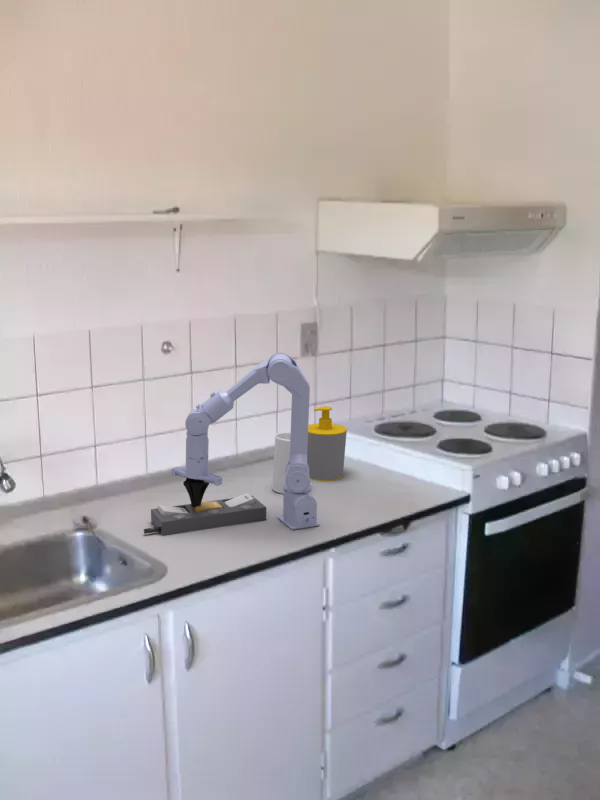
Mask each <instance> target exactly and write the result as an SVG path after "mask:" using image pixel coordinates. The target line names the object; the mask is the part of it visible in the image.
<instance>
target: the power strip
mask: <svg viewBox="0 0 600 800" xmlns="http://www.w3.org/2000/svg"><path fill="white" fill-rule="evenodd" d="M250 496H251V497H253V498H254V501H255V504H247V505H240V506H233V507H229V506H228V505H227V504H225V503H224V502H226V501H228V500H231V499H233V498H234V497H231V498H225V499H217V500H215V499H214V500H207V502H214V501H217V502H218V503H219V504H220V505H221V506H222V507H223V508H219V509H211V510H205V511H198V512H196V511H195V510H194V509H193V508H192V507H191V503H187V504H182V505H181V504H180V505H179V504H178V505H173V506H172V505H171V507H181V508H185V509H186V510H187V511H188V512H189V513H184V514H176V515H170V516H162V515H161V514H160V513H159V512H158V507H157V508H152V509H150V522H151V524H152V525H153V526H154V527H148V528H143V533H144V535H145V534H153V533H159V534H161V536H167V535H168V536H169V535H174V534H181V533H183V534H184V533H188V532H195V531H202V530H208V529H215V528H221V527H228V526H233V525H235V526H236V525H242V524H247V523H254V522H261V521H267V506H266V505H265V504H263V503H262V502H261V501H259V499H257V498H255V496H253V495H250Z"/></svg>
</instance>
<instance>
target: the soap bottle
mask: <svg viewBox="0 0 600 800" xmlns="http://www.w3.org/2000/svg"><path fill="white" fill-rule="evenodd" d="M332 410H333V408H332V407H331V406H327V405H325V406H319V407H316V408H313V412H317V411H321V417H319V418H318V422H317V423H311V424H308V446H307V464H308V466H309V476H310V480H312V481H317V482H333V481H338V480H341V479H342V478H344V465H345V457H346V456H345V453H346V445H347V444H346V443H347V433H348V432H347V431H348V428H347V427H346V426H344V425H341V424H336V423H333V418H331V417H330V411H332Z"/></svg>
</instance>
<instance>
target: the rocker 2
mask: <svg viewBox="0 0 600 800" xmlns="http://www.w3.org/2000/svg"><path fill="white" fill-rule="evenodd" d="M253 497H254V496H253ZM253 497H251V495H250V494H249V493H248V492H247V493H245V494H241V495H239V496H238V495H237V496H236V497H232V498H233V499H231V500H228V501H226V502H224V503H225V504H227V505H228V506H229V507H233V506H240V505H247V504H255V501H254V498H255V497H254V498H253Z"/></svg>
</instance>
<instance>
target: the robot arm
mask: <svg viewBox="0 0 600 800" xmlns="http://www.w3.org/2000/svg"><path fill="white" fill-rule="evenodd" d="M271 381H272V382H273V383H275V384H276V385H279V386H282V387H284V389H286V390H287V391H288V392H289V393H290V394H291V408H290V409H291V414H290V415H291V416H290V418H291V419H290V432H291V436H290V459H289V462H288V464H287V466H286V469H285V472H286V480H285V482H286V484H285V485H284V494H283V501H282V502H283V510H282V512H283V514H282V515H281V514H280V515H278V516H277V517H276V518H277V519H278V520H279V521H281V522H282V523H283V524H284V525H285V526H286V527H288V528H290V530H291V531H294V530H298V529H305V528H311V527H317V526H320V523H319V522H318V521H317V514H318V512H317V508H318V507H317V506H318V503H317V500H316V499H315V497H314V496H313V493H312V485H311V479H310V476H309V466H308V464H307V446H308V425H309V420H310V419H309V418H310V417H309V416H310V396H311V395H310V393H311V391H310V390H311V389H310V387H311V386H310V382H309V381H308V379H307V378H306V376H305V374H304V373H303V371H302V370H301V369H300V366H299V365H298V363H297V361H296V360H295V359H293V358H292V357H291V356H290V355H289V354H287V353H285V352H276V353H274V354H273V355H271V356H270V358H266V359H265V360H263V361H262V362H260V363H259V364H258V365H256V366H254V367H253V368H252V369H251V370H250V371H248V372H247V374H245V375H244V376H243V377H241V379H239V380H238V381H237V382H236V383H235V384H233V385H232V386H231V387H230V388H228V389H227V390H218V391H216V392H215V391H213V392H211V393H210V396H209V398H208V399H206V400H204V402H203V403H202V404H199V403H198V404H196V406H195V408H194V409H192V410H190V412H189V413H188V415H187V416H186V419H185V422H184V423H185V424H184V425H185V429H186V438H185V467H180V466H174V467H173V468H171V476H173V477H176V476H177V477H181V478H185V480H184V481H182V482H183V486H184V488H185V489H186V492H187V494H188V498H189V500H190V504H191V505H192V507H194V508H195V507H197V506H200V505H201V502H203V498H204V494H205V493H206V491H207V488H208V486H209V484H212V485H214V486H221V485H222V484H223V476H220V475H217V474H215V473H213V472H210V471H209V433H208V432H209V425H212V424H215V423H217V422H218V421H219V420H220V419H221V418H223V417H224V416H226V414H228V413H229V412H230V411H232V410H233V409H234V406H235V401H236V400H238V399H240V398H241V397H242V396H243V395H244V394H246V393H247V392H249V391H250V390H251V389H253V388H254V387H256V386H257V385H258V384H259V385H260V384H264V385H265V384H267V385H268V384H270V382H271Z"/></svg>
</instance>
